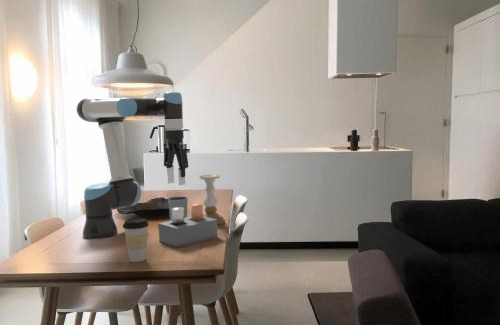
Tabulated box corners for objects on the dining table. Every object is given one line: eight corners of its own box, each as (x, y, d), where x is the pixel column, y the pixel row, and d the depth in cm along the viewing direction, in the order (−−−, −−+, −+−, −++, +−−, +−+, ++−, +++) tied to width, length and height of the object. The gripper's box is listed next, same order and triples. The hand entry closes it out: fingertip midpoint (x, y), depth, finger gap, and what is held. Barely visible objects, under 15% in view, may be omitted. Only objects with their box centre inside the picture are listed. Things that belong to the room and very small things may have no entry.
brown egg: (196, 222, 185) (195, 206, 185) (189, 220, 189) (188, 205, 188) (205, 220, 189) (205, 204, 188) (198, 218, 193) (198, 203, 192)
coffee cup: (127, 265, 155) (125, 224, 153) (122, 258, 163) (120, 219, 161) (153, 260, 159) (151, 221, 157) (147, 254, 167) (145, 216, 166)
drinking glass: (165, 222, 218) (164, 199, 217) (173, 218, 228) (172, 196, 227) (184, 223, 216) (183, 200, 215) (191, 218, 226) (190, 196, 224)
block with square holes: (177, 247, 174) (176, 228, 173) (159, 241, 184) (158, 223, 184) (217, 237, 188) (217, 219, 188) (198, 231, 199) (198, 214, 198)
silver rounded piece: (176, 226, 179) (175, 210, 178) (169, 224, 182) (169, 208, 182) (186, 224, 182) (186, 208, 181) (180, 222, 186) (179, 206, 185)
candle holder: (225, 223, 213) (224, 176, 211) (206, 226, 208) (204, 178, 205) (216, 219, 222) (214, 174, 220) (196, 222, 217) (194, 175, 215)
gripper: (196, 129, 173) (198, 184, 176) (168, 129, 188) (170, 180, 190) (180, 130, 168) (183, 187, 170) (153, 130, 183) (156, 182, 185)
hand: (176, 183), depth 180 cm, fingers open, 8 cm apart
